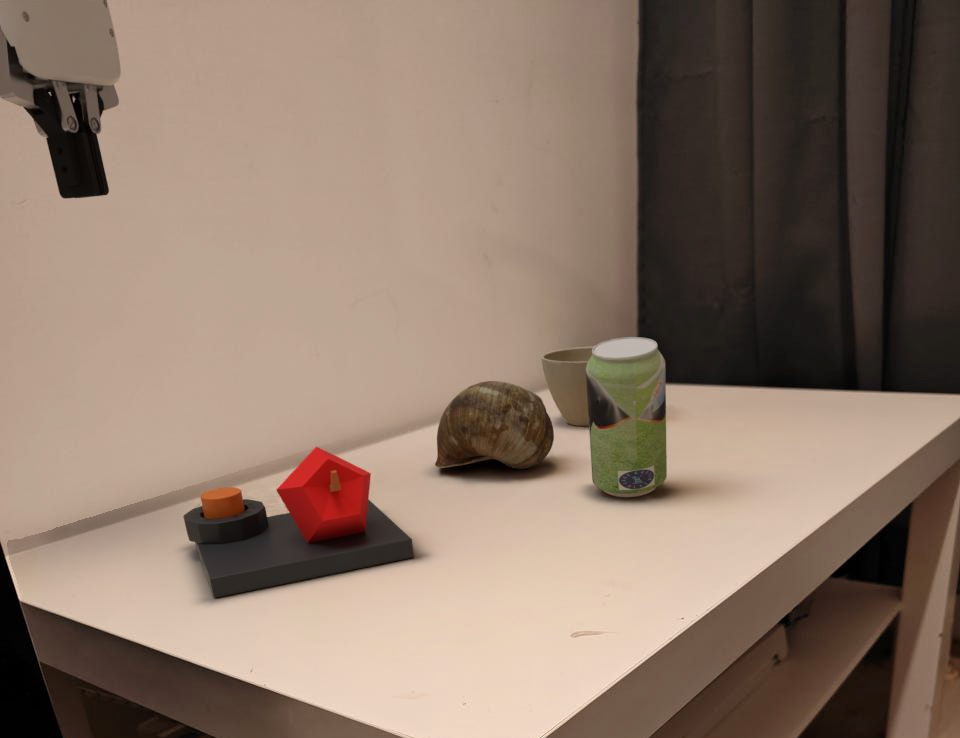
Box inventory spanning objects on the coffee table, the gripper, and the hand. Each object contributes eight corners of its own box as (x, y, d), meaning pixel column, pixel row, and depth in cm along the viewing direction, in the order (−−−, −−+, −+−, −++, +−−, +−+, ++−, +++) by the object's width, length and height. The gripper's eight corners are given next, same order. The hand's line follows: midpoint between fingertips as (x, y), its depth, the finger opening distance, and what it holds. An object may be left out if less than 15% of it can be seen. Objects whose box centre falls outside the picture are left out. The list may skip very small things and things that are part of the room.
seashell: (574, 461, 86) (571, 373, 83) (516, 488, 80) (509, 393, 77) (479, 451, 93) (472, 369, 90) (417, 475, 87) (407, 387, 83)
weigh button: (207, 524, 68) (202, 501, 68) (202, 514, 71) (197, 491, 70) (248, 516, 69) (243, 494, 69) (242, 507, 72) (238, 484, 71)
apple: (270, 453, 69) (281, 432, 62) (360, 457, 71) (383, 437, 64) (271, 546, 69) (283, 537, 62) (362, 547, 71) (384, 539, 64)
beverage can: (663, 478, 79) (664, 330, 74) (671, 503, 73) (672, 344, 68) (589, 481, 80) (584, 336, 75) (589, 507, 73) (585, 349, 68)
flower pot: (554, 435, 97) (551, 364, 94) (537, 416, 106) (533, 351, 103) (648, 425, 97) (648, 354, 94) (623, 407, 106) (622, 342, 103)
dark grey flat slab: (207, 599, 62) (197, 557, 61) (188, 545, 73) (180, 508, 72) (414, 557, 66) (409, 517, 65) (367, 511, 77) (362, 476, 76)
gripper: (51, -77, 69) (112, 198, 76) (-130, -133, 56) (-34, 204, 64) (134, -97, 66) (188, 190, 74) (-36, -160, 53) (52, 194, 61)
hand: (85, 196), depth 69 cm, fingers closed
